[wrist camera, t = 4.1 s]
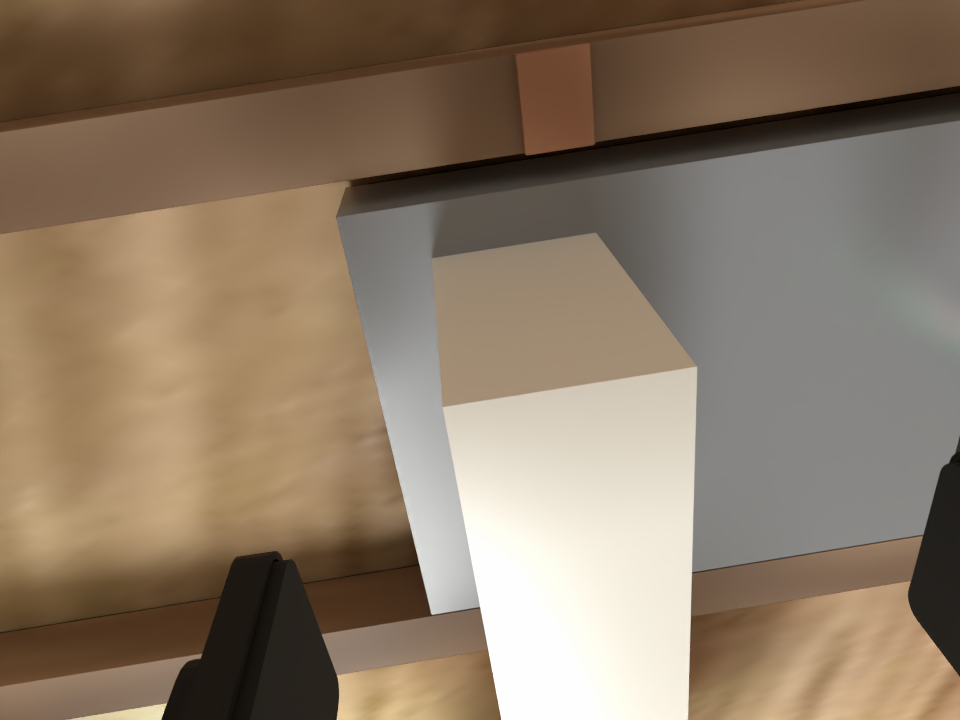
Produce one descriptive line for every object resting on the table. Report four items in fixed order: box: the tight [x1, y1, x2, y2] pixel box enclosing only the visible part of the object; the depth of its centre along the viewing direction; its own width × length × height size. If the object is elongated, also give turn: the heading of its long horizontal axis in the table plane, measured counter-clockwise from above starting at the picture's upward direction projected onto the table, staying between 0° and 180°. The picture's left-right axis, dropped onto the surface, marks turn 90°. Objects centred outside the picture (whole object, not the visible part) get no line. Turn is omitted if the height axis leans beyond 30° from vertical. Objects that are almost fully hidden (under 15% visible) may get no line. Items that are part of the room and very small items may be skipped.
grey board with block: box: [336, 93, 960, 720], centre depth 13 cm, size 10×21×7 cm, turn 97°
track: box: [0, 0, 960, 720], centre depth 15 cm, size 14×38×2 cm, turn 97°
